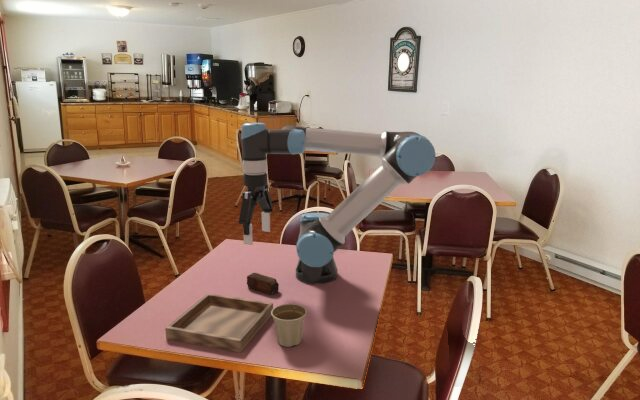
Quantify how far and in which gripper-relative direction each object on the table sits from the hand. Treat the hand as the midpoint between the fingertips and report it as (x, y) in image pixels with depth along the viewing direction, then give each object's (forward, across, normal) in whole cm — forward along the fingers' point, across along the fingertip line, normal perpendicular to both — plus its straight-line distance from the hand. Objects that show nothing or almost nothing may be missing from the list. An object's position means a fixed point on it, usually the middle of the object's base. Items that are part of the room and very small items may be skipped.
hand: (257, 237), depth 148 cm
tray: (+19, +24, 0) cm, 31 cm away
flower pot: (+19, +26, +21) cm, 38 cm away
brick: (+19, -1, +1) cm, 19 cm away
